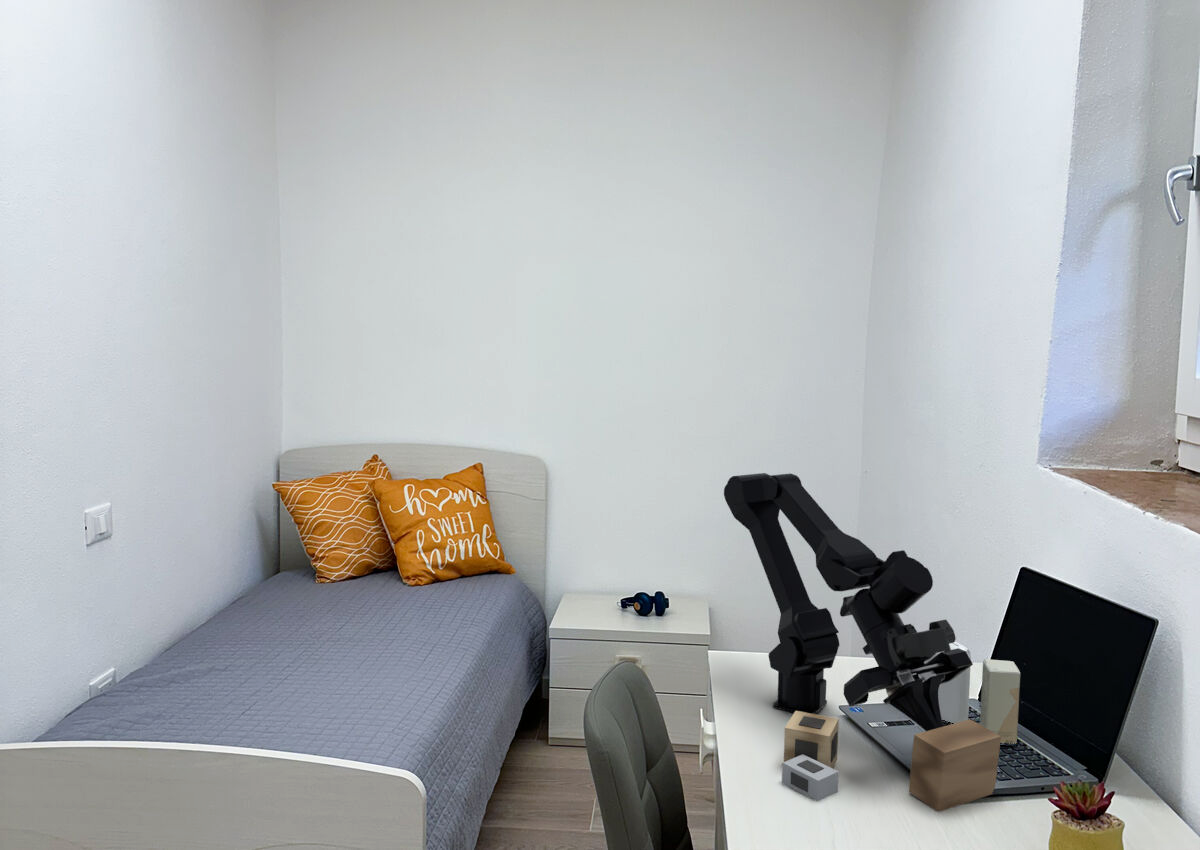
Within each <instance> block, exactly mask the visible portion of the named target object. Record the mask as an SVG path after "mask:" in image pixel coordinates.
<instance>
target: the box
mask: <svg viewBox="0 0 1200 850" xmlns="http://www.w3.org/2000/svg"><path fill="white" fill-rule="evenodd" d="M981 675H982V678H981V696H980V722H979V724H980V725H982V726H983V727H985V728H987V729H989V730H991V731H992V732H994V733H996V734H998V735H1000V736H1001V741H1000V743H1009V744H1010V743H1011V744H1014V743H1015V744H1016V743H1017V740H1018V727H1019V726H1018V723H1019V706H1020V703H1019V702H1020V687H1021V685H1020V684H1021V672H1020V669H1019V668H1018V666H1017V665H1016V664H1015V662H1014V661H1011V660H1002V659H1001V660H999V659H989V658H988V659H987V658H986V659H982V673H981Z"/></svg>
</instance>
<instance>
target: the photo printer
mask: <svg viewBox="0 0 1200 850" xmlns="http://www.w3.org/2000/svg"><path fill="white" fill-rule="evenodd" d="M949 645H950V649H951V650H953V649H957V648H959V649H961V650H964V651H966V653H967V654H968V656H969V658H970V660H971V658H972V657H971V651H970V649H969V648H967V647H966V646H964V645H962V644H960V643H959V642H957V641H955V642H954V643H950V644H949ZM943 652H944V651H943ZM939 653H941V652H938V653H936V654H935V655H933V657H931V658H930V659H929V660H926V661H925V662H924V663H925V664H926V663H928V662H929V661H930V660H931V659H933V658H934V657H935V656H937V655H938V654H939ZM971 661H972V660H971ZM915 674H916V673H915ZM915 674H914V673H913V674H912V675H915ZM970 683H971V666H970V667H969V668H968V669H966V670H965V671H964V672H962V673H961V674H959V675H958V676H957V677H955V678H954V679H953V680H951V681H949V682H947V683H943V684H940V686H939V689H938V699H939V707H940V713H941V719H942V720H945V721H948V722H951V723H950V724H952V723H958V722H962V721H965V720H969V708H970V706H969V705H970V689H971V688H970ZM945 721H944V722H945ZM948 722H947V723H948Z"/></svg>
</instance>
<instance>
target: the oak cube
mask: <svg viewBox="0 0 1200 850" xmlns="http://www.w3.org/2000/svg"><path fill="white" fill-rule="evenodd" d="M839 722H840V718H838V717H833V716H826V715H821V714H817V713H815V714H811V713H806V712H800V711H795V713H793V714H792V715H791V717H790V719H789V720H788V722H787V723H786V725H785V726H784V744H783V745H784V746H783V762H786V761H788V760H790V759H793V758H795V757H797V756H800V755H802V754H803V755H806V756H808V757H810V758H812V759H814V760H816V761H818V762H820V763H822V764H824V765H826V766H828V767H830V768H832V769H834V767H835V766H836V763H837V762H838V761H837V760H838V752H839V751H838V749H839V748H838V747H839V729H840V728H839V727H840V725H839V724H840V723H839Z"/></svg>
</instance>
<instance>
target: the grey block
mask: <svg viewBox="0 0 1200 850" xmlns="http://www.w3.org/2000/svg"><path fill="white" fill-rule="evenodd" d="M781 766H782V768H781V770H782V771H781V783H782V784H784V785H786V786H787V787H790V788H792V789H793V790H795V791H797V792H800V793H801V794H803V795H804V796H806V797H808V798H810V799H813V800H814V801H816V802H819V801H822V800H823V799H826V798H828V797H830V796H832V795H834V794H836V793H838V792H839V775H840V774H839V773H840V772H839V770H837V769H835V768H833V769H832V768H830V767H828V766H826V765H824V764H822V763H820V762H818V761H816V760H814V759H812V758H810V757H808V756H806V755H803V754H802V755H800V756H797V757H795V758H793V759H790V760H788V761H786V762H784V761H783V762H782V765H781Z"/></svg>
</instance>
